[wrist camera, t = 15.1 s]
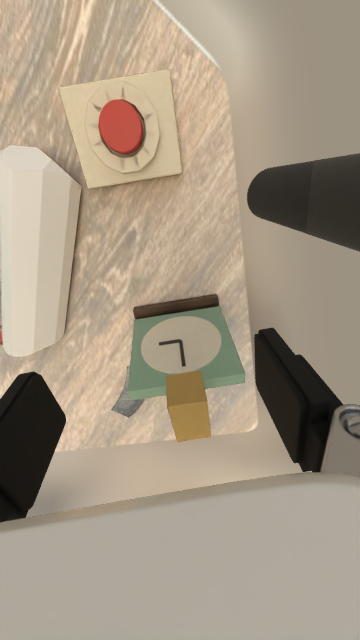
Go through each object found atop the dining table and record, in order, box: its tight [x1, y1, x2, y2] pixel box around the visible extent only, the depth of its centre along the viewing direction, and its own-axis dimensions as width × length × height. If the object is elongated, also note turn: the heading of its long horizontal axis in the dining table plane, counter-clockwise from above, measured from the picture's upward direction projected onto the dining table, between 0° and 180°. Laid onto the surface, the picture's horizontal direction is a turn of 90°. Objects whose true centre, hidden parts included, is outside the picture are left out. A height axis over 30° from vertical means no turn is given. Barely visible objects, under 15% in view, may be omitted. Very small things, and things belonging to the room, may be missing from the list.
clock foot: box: [133, 294, 219, 319], centre depth 35 cm, size 12×2×1 cm, turn 98°
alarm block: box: [59, 69, 182, 189], centre depth 24 cm, size 10×8×4 cm
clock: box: [127, 306, 245, 442], centre depth 26 cm, size 12×17×6 cm
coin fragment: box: [111, 367, 145, 417], centre depth 42 cm, size 13×5×1 cm, turn 158°
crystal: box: [0, 145, 81, 356], centre depth 29 cm, size 7×7×24 cm
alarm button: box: [99, 99, 143, 155], centre depth 21 cm, size 4×4×2 cm
